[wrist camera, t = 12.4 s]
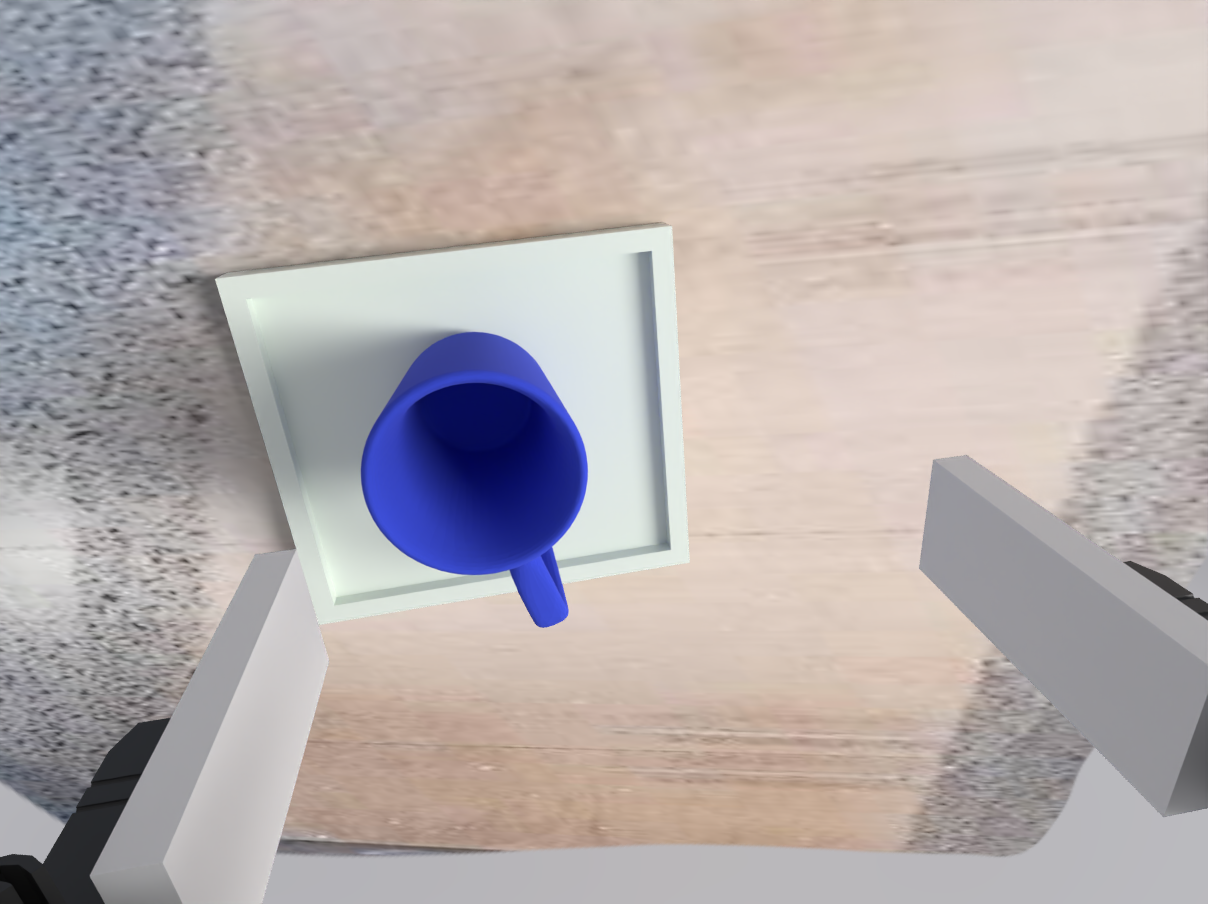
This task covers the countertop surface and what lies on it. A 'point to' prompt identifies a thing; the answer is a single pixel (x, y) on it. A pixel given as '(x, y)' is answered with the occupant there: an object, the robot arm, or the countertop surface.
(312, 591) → the tray
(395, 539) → the mug
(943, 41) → the countertop surface
